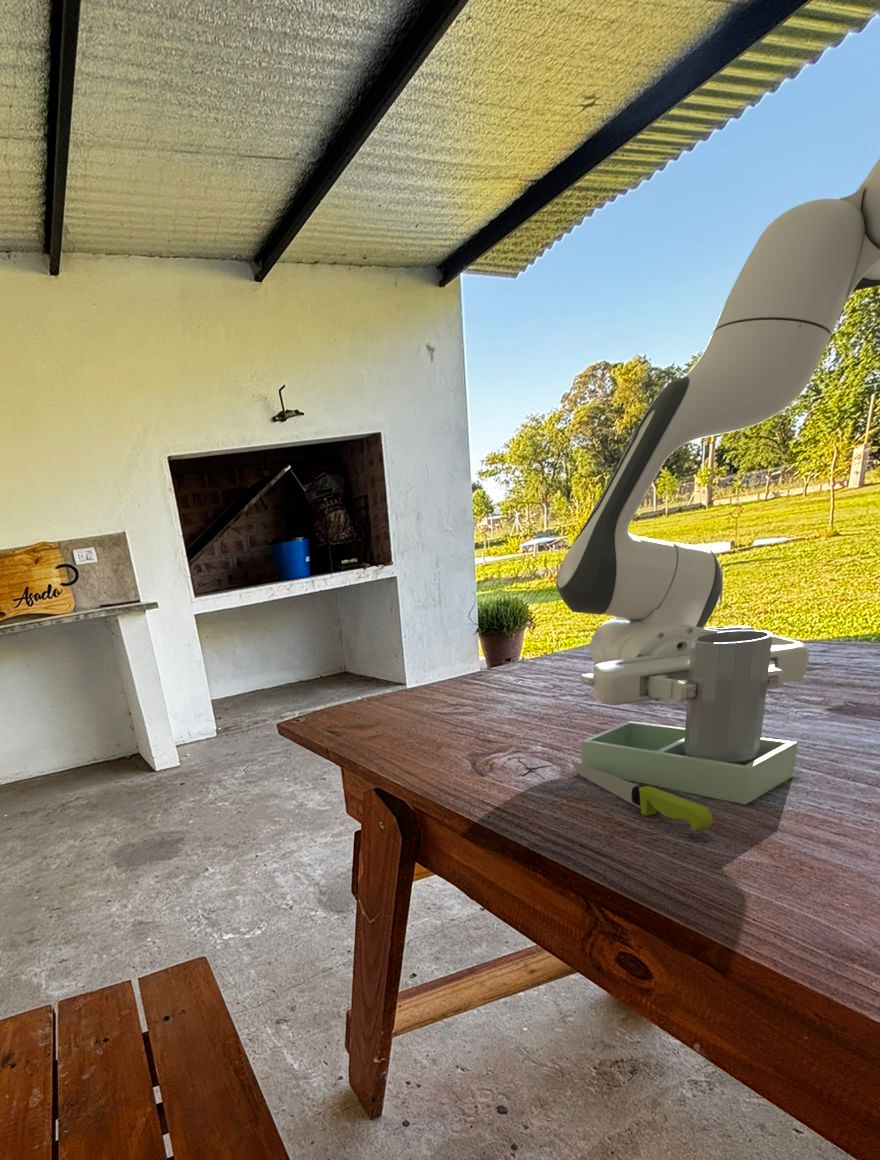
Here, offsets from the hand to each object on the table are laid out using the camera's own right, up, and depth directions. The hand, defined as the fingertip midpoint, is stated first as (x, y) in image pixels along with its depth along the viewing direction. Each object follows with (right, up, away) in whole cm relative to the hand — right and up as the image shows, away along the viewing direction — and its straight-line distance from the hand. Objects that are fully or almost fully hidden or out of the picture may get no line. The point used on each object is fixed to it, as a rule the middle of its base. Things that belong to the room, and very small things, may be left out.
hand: (732, 686), depth 61 cm
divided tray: (0, -9, +8) cm, 12 cm away
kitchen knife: (-8, -12, +4) cm, 15 cm away
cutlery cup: (+1, -6, +3) cm, 7 cm away
